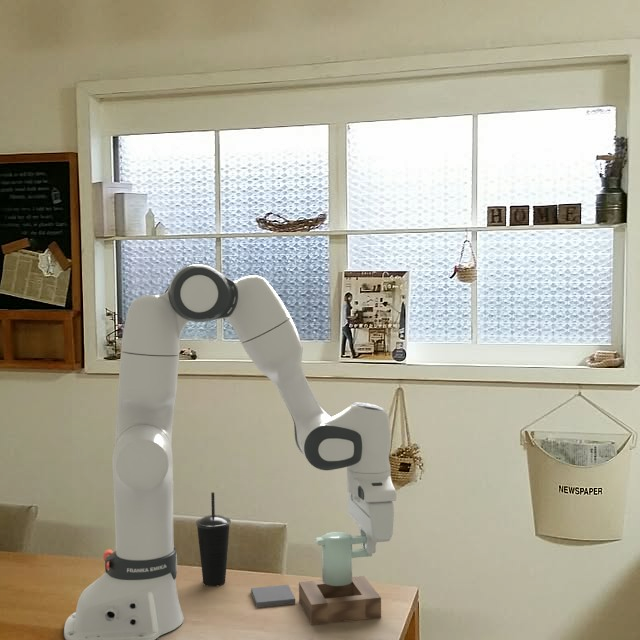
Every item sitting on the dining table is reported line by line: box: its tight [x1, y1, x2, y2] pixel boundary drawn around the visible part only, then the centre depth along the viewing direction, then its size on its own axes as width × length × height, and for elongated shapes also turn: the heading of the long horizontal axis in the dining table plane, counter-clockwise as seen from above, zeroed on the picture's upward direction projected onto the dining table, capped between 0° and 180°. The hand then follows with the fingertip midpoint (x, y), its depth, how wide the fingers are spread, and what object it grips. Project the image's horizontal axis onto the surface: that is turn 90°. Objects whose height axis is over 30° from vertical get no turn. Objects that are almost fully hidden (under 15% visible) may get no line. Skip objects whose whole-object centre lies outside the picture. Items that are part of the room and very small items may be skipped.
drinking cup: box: [195, 492, 232, 587], centre depth 182 cm, size 8×8×20 cm
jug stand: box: [298, 575, 382, 626], centre depth 167 cm, size 14×12×4 cm
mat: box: [250, 584, 296, 608], centre depth 173 cm, size 8×8×1 cm
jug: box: [315, 531, 373, 586], centre depth 167 cm, size 11×6×9 cm, turn 103°
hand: (368, 550), depth 168 cm, fingers closed on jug
